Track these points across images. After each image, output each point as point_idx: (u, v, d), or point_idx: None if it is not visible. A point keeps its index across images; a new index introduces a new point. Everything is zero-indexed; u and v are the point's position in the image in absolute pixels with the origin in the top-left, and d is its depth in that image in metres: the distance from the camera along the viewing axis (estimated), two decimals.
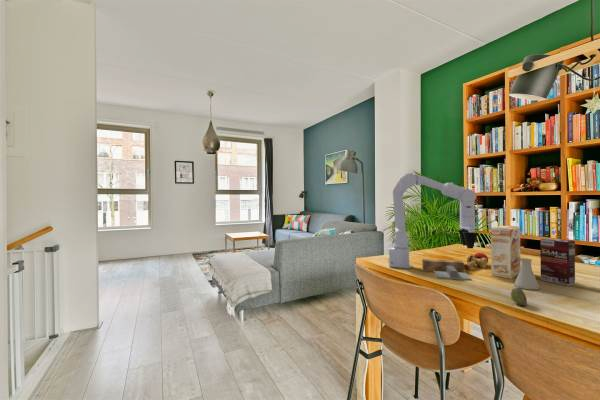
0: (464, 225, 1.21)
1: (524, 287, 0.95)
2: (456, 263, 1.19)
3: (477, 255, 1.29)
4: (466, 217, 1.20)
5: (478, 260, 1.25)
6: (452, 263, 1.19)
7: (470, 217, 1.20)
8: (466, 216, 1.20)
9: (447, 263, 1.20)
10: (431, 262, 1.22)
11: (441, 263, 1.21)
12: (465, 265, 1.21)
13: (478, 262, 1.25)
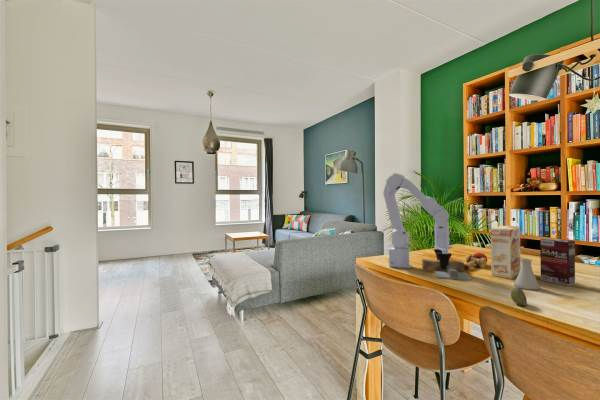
0: (438, 245, 1.20)
1: (524, 287, 0.95)
2: (456, 263, 1.19)
3: (476, 255, 1.29)
4: (440, 238, 1.20)
5: (477, 260, 1.25)
6: (452, 263, 1.19)
7: (444, 238, 1.19)
8: (440, 237, 1.20)
9: None
10: (431, 262, 1.22)
11: None
12: (464, 265, 1.21)
13: (477, 262, 1.25)
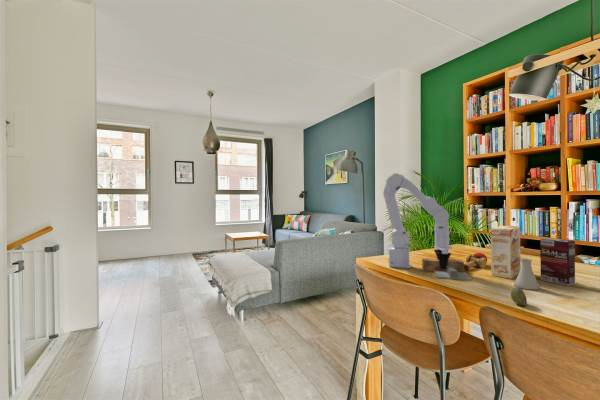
0: (438, 245, 1.21)
1: (524, 287, 0.95)
2: (456, 262, 1.19)
3: (476, 255, 1.29)
4: (440, 238, 1.20)
5: (477, 260, 1.25)
6: (452, 262, 1.19)
7: (444, 238, 1.19)
8: (440, 237, 1.20)
9: None
10: (431, 262, 1.22)
11: None
12: (464, 265, 1.21)
13: (477, 262, 1.25)
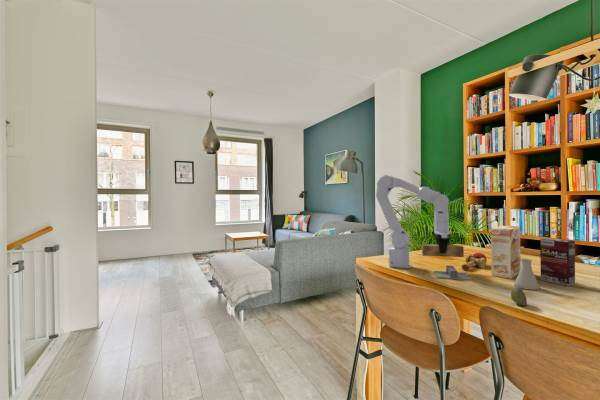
0: (438, 230, 1.20)
1: (524, 287, 0.95)
2: (456, 247, 1.19)
3: (476, 255, 1.29)
4: (440, 222, 1.20)
5: (477, 260, 1.25)
6: (452, 247, 1.19)
7: (444, 222, 1.19)
8: (440, 221, 1.20)
9: (447, 247, 1.20)
10: (431, 247, 1.22)
11: None
12: (464, 265, 1.21)
13: (477, 262, 1.25)
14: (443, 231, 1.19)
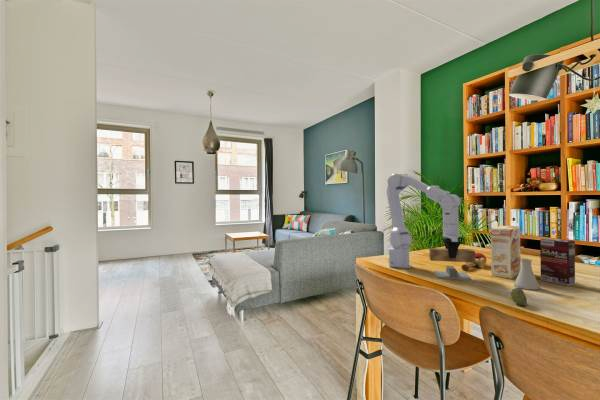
0: (447, 233, 1.11)
1: (524, 287, 0.95)
2: (466, 252, 1.09)
3: (475, 255, 1.28)
4: (449, 225, 1.11)
5: (477, 260, 1.25)
6: (462, 252, 1.10)
7: (453, 225, 1.10)
8: (449, 224, 1.11)
9: (457, 252, 1.11)
10: (439, 251, 1.13)
11: None
12: (464, 265, 1.21)
13: (477, 262, 1.25)
14: (453, 234, 1.10)
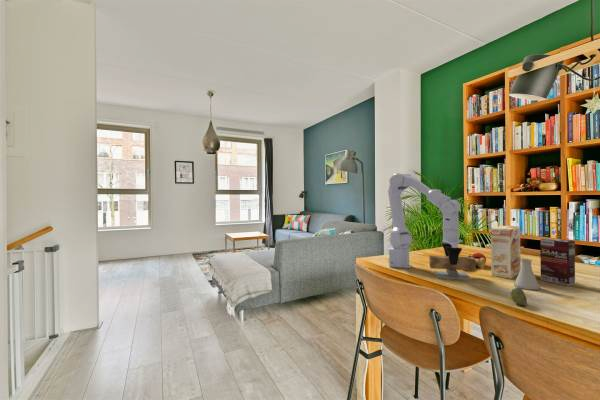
0: (447, 239, 1.11)
1: (524, 287, 0.95)
2: (467, 260, 1.09)
3: (475, 255, 1.28)
4: (449, 230, 1.11)
5: (476, 260, 1.25)
6: (462, 260, 1.10)
7: (454, 230, 1.10)
8: (449, 229, 1.11)
9: None
10: (439, 259, 1.13)
11: None
12: None
13: (476, 262, 1.25)
14: (453, 240, 1.10)
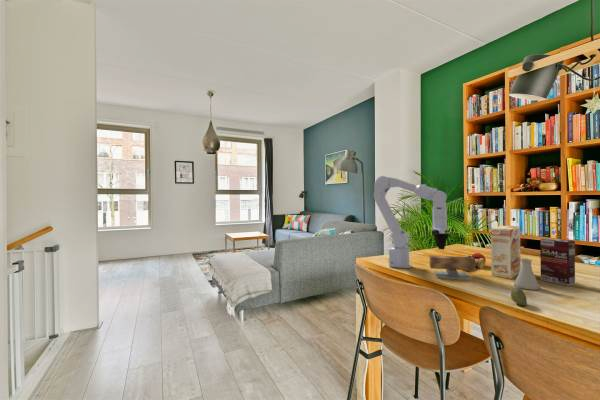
0: (436, 226, 1.22)
1: (524, 287, 0.95)
2: (467, 260, 1.09)
3: (475, 255, 1.28)
4: (438, 218, 1.21)
5: (476, 260, 1.25)
6: (462, 260, 1.10)
7: (442, 218, 1.20)
8: (438, 217, 1.21)
9: (457, 260, 1.11)
10: (439, 259, 1.13)
11: (450, 260, 1.11)
12: None
13: (476, 262, 1.24)
14: (441, 227, 1.20)
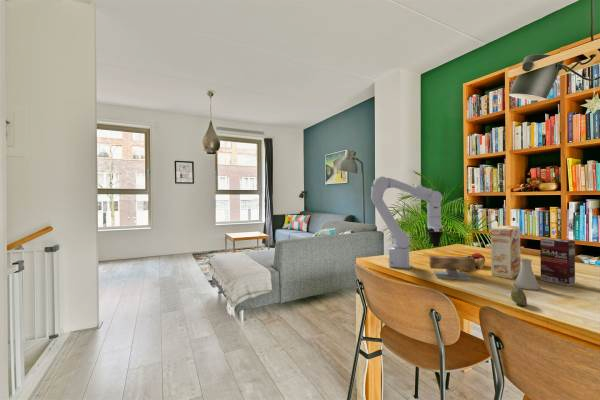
0: (431, 225, 1.28)
1: (524, 287, 0.95)
2: (467, 260, 1.09)
3: (474, 255, 1.28)
4: (432, 217, 1.27)
5: (475, 260, 1.25)
6: (462, 260, 1.10)
7: (436, 217, 1.27)
8: (432, 216, 1.27)
9: (457, 260, 1.11)
10: (439, 259, 1.13)
11: (450, 260, 1.11)
12: None
13: (475, 262, 1.24)
14: (435, 225, 1.27)
